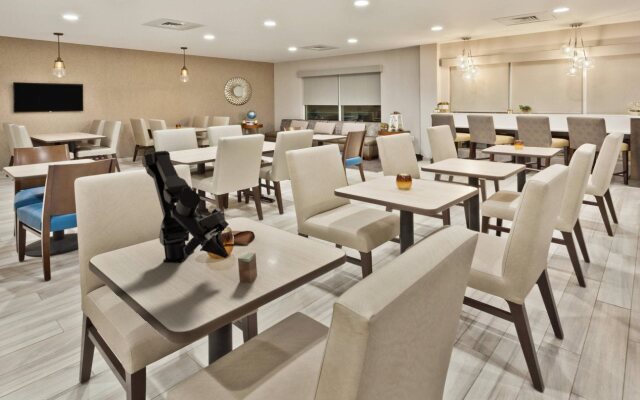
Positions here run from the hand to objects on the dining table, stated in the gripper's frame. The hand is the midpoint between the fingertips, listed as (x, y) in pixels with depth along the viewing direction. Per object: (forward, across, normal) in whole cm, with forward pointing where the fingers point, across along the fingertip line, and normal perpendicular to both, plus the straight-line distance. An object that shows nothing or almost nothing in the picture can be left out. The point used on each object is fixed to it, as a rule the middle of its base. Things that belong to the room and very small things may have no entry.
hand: (227, 256), depth 125 cm
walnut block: (+9, 0, 0) cm, 9 cm away
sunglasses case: (-5, +30, +15) cm, 34 cm away
